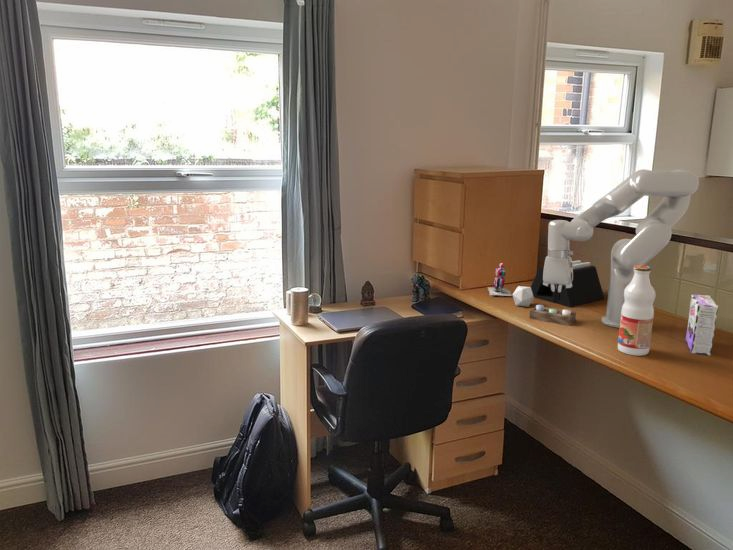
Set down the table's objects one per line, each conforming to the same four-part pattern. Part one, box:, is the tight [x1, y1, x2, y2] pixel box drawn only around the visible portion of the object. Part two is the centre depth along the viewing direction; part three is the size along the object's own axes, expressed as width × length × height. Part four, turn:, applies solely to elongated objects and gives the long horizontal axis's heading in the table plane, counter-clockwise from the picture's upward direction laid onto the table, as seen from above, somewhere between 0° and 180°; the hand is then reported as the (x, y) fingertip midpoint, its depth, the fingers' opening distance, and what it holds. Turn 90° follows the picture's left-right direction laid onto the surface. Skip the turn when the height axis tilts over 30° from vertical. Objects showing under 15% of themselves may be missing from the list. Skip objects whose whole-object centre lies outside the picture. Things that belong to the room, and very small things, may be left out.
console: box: [529, 306, 577, 326], centre depth 219 cm, size 15×8×3 cm, turn 55°
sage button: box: [549, 308, 558, 314], centre depth 219 cm, size 3×3×4 cm
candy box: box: [685, 293, 719, 356], centre depth 188 cm, size 14×6×16 cm, turn 159°
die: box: [511, 285, 535, 308], centre depth 237 cm, size 8×9×10 cm
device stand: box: [530, 260, 605, 308], centre depth 249 cm, size 22×22×15 cm
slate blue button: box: [535, 304, 545, 311], centre depth 222 cm, size 3×3×4 cm
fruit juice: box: [617, 265, 656, 357], centre depth 183 cm, size 9×9×28 cm
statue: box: [487, 262, 513, 298], centre depth 254 cm, size 11×9×15 cm
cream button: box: [561, 308, 572, 316], centre depth 216 cm, size 3×3×4 cm
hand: (556, 301), depth 218 cm, fingers closed
